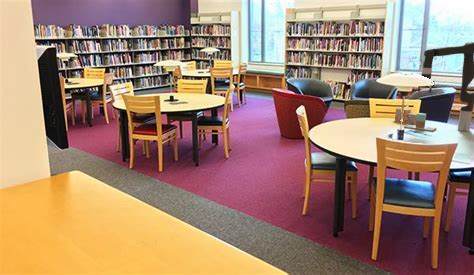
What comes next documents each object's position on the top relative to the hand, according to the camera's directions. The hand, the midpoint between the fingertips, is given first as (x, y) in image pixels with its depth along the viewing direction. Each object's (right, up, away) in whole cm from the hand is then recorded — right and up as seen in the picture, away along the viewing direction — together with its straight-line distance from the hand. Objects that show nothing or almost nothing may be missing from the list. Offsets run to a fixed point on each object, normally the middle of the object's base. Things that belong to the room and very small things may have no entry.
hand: (424, 92), depth 355 cm
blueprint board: (0, -31, +7) cm, 32 cm away
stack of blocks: (-1, -25, +36) cm, 43 cm away
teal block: (0, -24, +6) cm, 25 cm away
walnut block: (0, -30, +7) cm, 31 cm away
